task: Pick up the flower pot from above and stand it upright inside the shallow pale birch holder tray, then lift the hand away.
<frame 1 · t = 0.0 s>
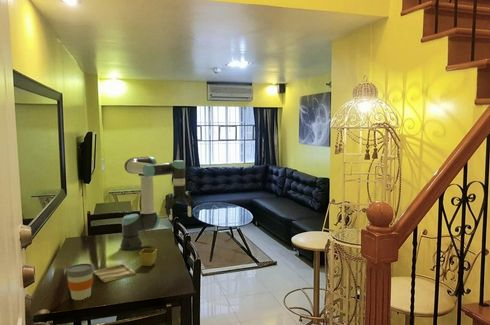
hand: (180, 217, 244), 28 cm above the table, tool pointing down, fingers open, 13 cm apart
reusable coffee cup: (81, 296, 196), on the table
flower pot: (148, 265, 240), on the table
holder tray: (114, 273, 225), on the table
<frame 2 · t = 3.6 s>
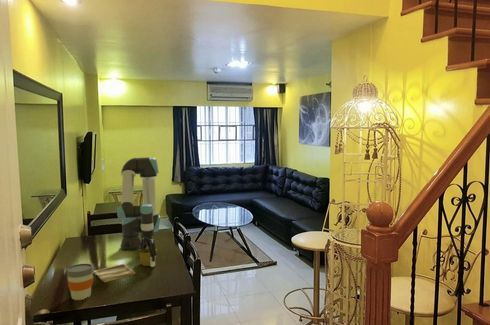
hand: (148, 263, 240), 1 cm above the table, tool pointing down, fingers closed on flower pot, 11 cm apart
flower pot: (148, 265, 240), on the table, touching gripper
everything else where it was.
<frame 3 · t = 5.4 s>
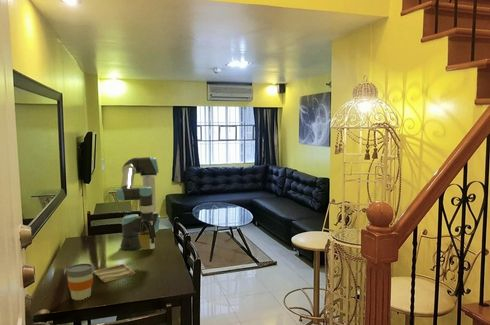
hand: (148, 246, 239), 12 cm above the table, tool pointing down, fingers closed on flower pot, 11 cm apart
flower pot: (148, 247, 239), point 11 cm above the table, touching gripper
everything else where it was.
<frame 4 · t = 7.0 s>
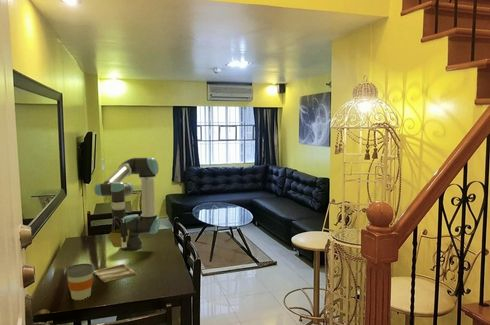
hand: (120, 245, 226), 17 cm above the table, tool pointing down, fingers closed on flower pot, 11 cm apart
flower pot: (120, 246, 226), point 16 cm above the table, touching gripper
everything else where it was.
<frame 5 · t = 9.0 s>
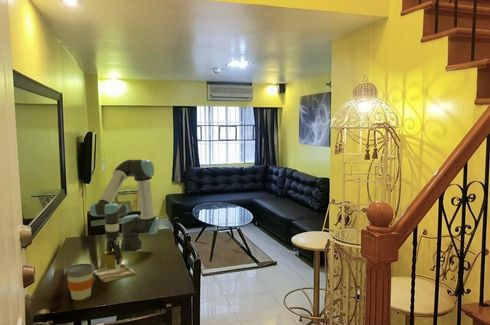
hand: (114, 266, 225), 4 cm above the table, tool pointing down, fingers closed on flower pot, 11 cm apart
flower pot: (114, 268, 225), point 3 cm above the table, touching gripper
everything else where it was.
when the fingers open (3 cm above the table, at t = 10.3 s): flower pot moves 2 cm, resting on holder tray.
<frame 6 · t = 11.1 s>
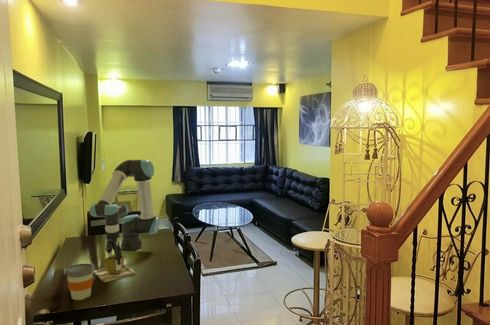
hand: (114, 266, 225), 4 cm above the table, tool pointing down, fingers open, 13 cm apart
flower pot: (115, 273, 224), point 1 cm above the table, touching gripper, holder tray
everything else where it was.
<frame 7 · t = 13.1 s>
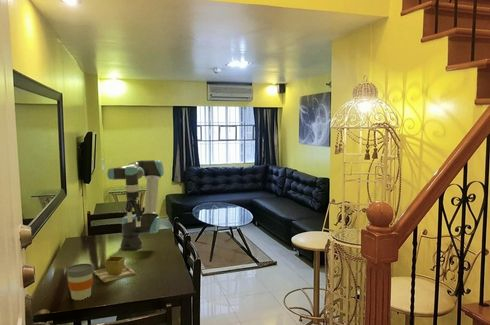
hand: (134, 224, 241), 25 cm above the table, tool pointing down, fingers open, 13 cm apart
flower pot: (115, 274, 224), resting on holder tray
everything else where it was.
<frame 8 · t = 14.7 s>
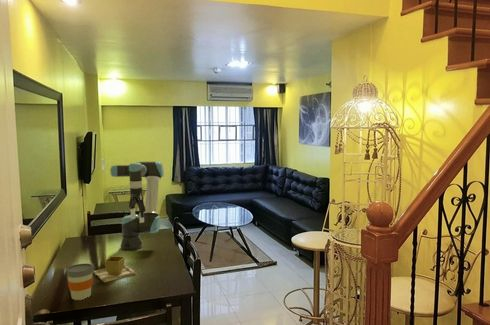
hand: (137, 220, 244), 27 cm above the table, tool pointing down, fingers open, 13 cm apart
nothing on the table moved.
at the end: flower pot inside the target area on the holder tray (1.6 cm from its centre), point 0.3 cm above the holder tray's base; flower pot tilted 0°; the gripper is holding nothing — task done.
